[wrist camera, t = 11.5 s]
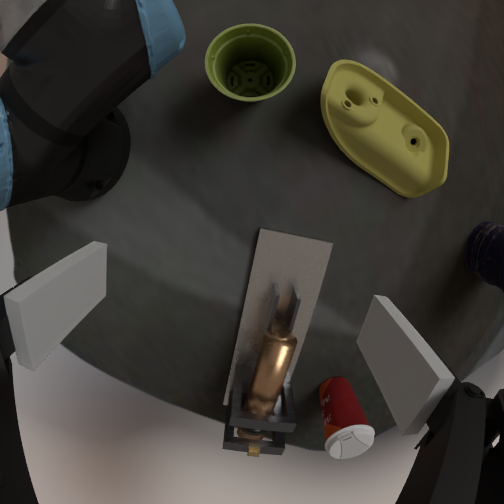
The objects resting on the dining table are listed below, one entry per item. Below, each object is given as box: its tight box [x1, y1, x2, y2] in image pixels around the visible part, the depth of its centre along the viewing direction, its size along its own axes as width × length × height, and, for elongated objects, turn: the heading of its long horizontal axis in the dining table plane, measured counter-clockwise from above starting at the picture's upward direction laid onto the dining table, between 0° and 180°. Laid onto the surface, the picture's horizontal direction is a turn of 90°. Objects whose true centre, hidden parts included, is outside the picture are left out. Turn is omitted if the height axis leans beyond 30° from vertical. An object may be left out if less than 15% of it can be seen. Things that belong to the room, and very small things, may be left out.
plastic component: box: [321, 60, 449, 198], centre depth 34 cm, size 20×7×10 cm
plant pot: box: [205, 24, 296, 102], centre depth 30 cm, size 9×9×9 cm
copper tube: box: [237, 329, 298, 440], centre depth 40 cm, size 20×5×5 cm, turn 169°
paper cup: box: [319, 377, 375, 459], centre depth 41 cm, size 8×8×14 cm
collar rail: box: [223, 227, 333, 457], centre depth 38 cm, size 32×10×13 cm, turn 169°
